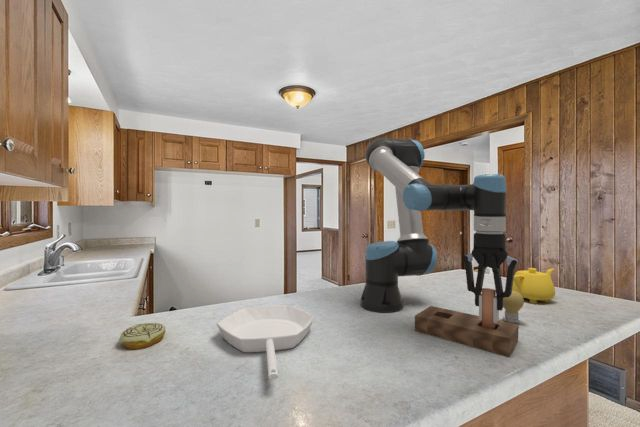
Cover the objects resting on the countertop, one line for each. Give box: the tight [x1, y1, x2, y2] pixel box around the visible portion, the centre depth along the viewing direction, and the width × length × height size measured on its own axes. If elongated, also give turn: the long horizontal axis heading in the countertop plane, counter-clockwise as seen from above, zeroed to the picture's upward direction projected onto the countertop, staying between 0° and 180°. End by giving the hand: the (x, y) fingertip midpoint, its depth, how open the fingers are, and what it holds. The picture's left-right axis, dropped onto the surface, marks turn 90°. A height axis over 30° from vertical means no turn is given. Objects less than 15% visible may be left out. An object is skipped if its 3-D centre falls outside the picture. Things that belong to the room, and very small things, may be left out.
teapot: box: [512, 267, 556, 304], centre depth 121 cm, size 13×20×12 cm
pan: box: [216, 304, 315, 381], centre depth 79 cm, size 28×41×4 cm
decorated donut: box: [118, 322, 167, 350], centre depth 83 cm, size 10×11×4 cm
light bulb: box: [503, 290, 525, 324], centre depth 97 cm, size 6×6×10 cm
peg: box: [481, 287, 496, 330], centre depth 82 cm, size 3×3×12 cm
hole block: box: [414, 305, 519, 358], centre depth 86 cm, size 24×12×4 cm, turn 49°
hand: (488, 319), depth 82 cm, fingers closed on peg, 3 cm apart
